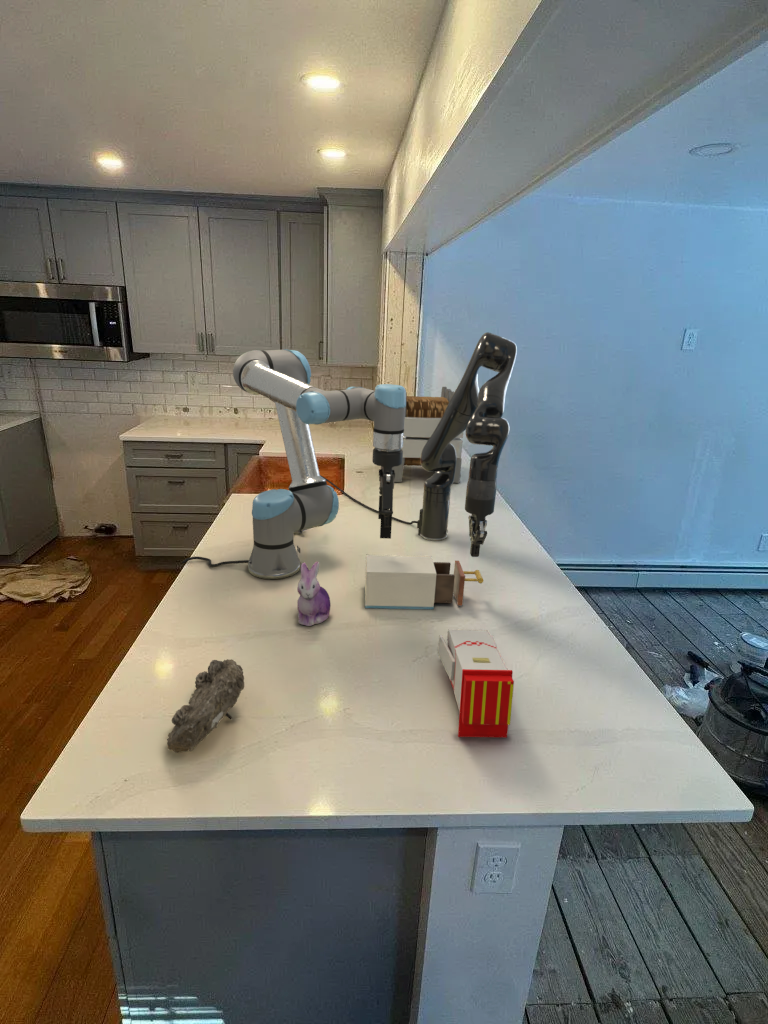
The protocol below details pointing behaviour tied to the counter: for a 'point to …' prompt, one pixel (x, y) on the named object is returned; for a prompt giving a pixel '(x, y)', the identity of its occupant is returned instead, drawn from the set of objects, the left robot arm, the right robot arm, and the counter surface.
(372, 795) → the counter surface
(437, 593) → the drawer
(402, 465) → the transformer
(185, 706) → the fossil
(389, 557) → the cabinet
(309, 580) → the figurine
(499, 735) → the toy
